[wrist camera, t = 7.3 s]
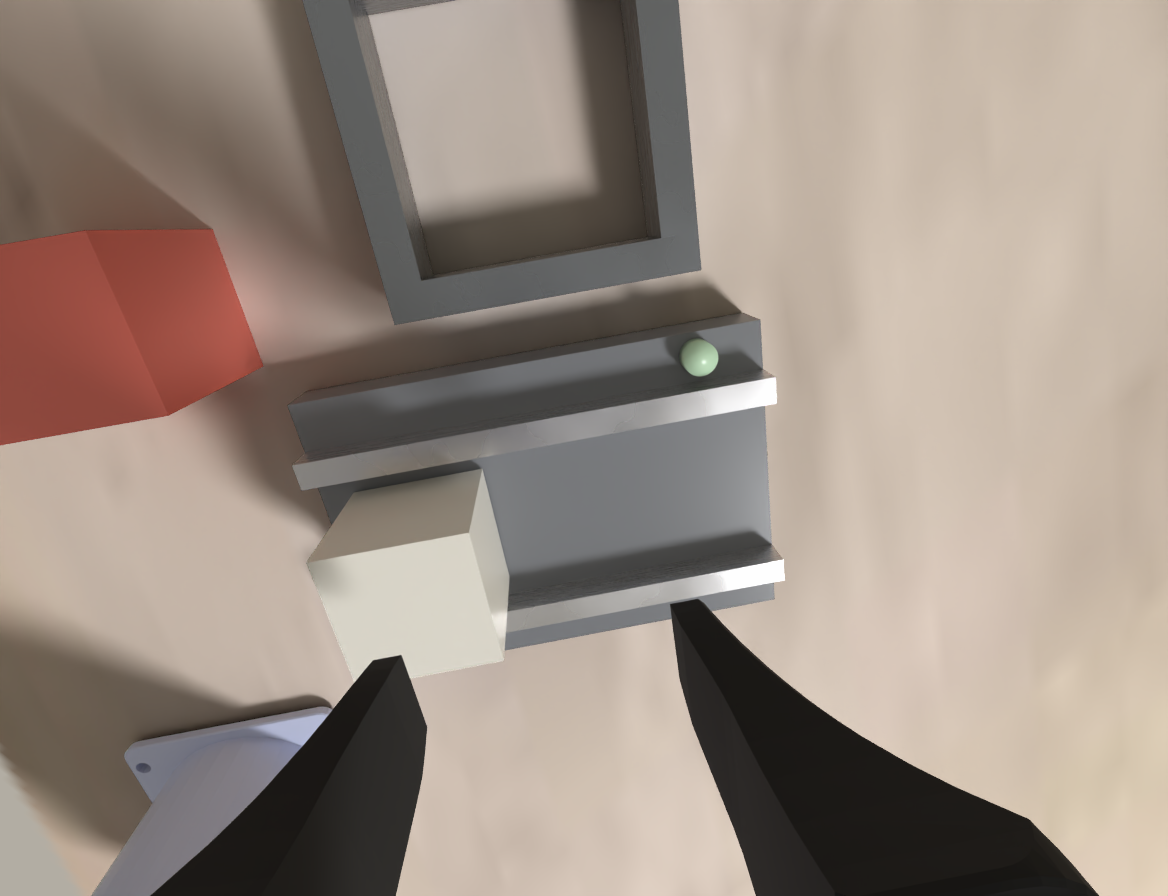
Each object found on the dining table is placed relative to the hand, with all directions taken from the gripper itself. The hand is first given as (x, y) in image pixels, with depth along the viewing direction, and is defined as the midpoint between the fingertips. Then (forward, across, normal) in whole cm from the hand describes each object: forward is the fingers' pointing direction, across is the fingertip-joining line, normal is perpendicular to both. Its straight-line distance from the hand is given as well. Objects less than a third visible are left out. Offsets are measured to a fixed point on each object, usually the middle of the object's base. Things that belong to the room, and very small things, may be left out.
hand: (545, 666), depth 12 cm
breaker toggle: (+7, +3, 0) cm, 8 cm away
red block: (+8, +10, -8) cm, 15 cm away
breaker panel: (+8, 0, 0) cm, 8 cm away
